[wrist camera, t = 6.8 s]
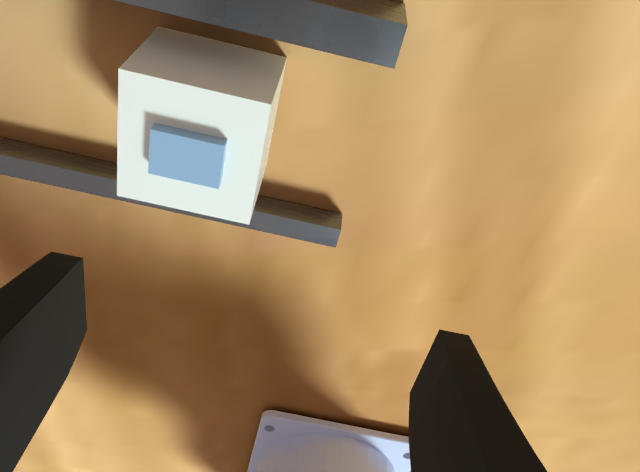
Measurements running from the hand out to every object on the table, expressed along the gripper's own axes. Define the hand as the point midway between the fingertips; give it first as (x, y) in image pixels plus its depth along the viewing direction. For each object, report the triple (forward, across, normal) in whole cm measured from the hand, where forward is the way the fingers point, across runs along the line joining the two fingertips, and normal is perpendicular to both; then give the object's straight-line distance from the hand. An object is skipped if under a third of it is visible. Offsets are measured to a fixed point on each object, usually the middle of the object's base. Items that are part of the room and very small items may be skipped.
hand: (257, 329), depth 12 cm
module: (+10, +3, 0) cm, 10 cm away
